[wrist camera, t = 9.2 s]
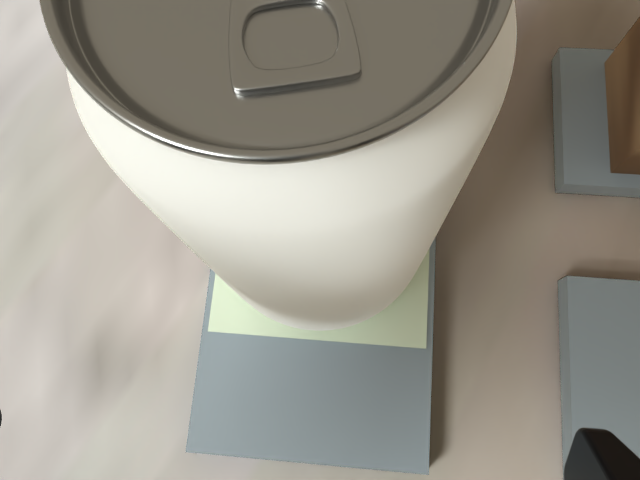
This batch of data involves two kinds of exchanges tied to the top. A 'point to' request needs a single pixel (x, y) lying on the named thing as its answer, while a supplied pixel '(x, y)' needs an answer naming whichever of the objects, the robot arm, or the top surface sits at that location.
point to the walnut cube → (624, 103)
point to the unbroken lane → (317, 384)
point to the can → (292, 132)
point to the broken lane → (586, 292)
